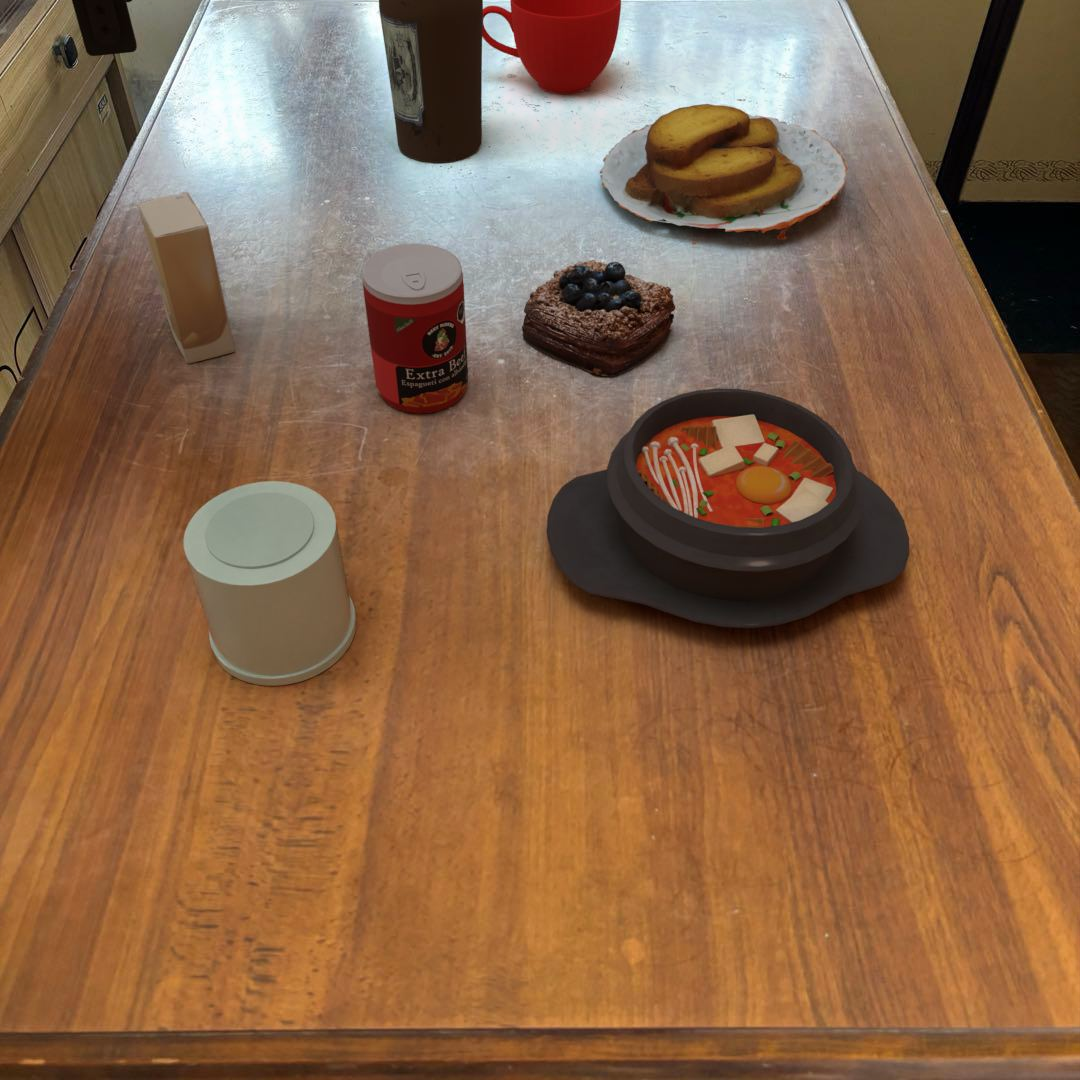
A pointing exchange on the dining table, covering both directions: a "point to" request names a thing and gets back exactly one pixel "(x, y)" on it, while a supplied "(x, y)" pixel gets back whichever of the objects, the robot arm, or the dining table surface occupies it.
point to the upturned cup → (271, 582)
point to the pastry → (598, 318)
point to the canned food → (417, 326)
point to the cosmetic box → (187, 276)
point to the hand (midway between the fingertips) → (112, 26)
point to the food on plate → (723, 170)
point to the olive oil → (435, 75)
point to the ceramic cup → (560, 40)
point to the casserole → (728, 514)
